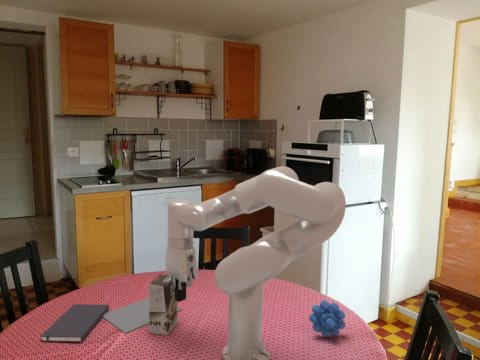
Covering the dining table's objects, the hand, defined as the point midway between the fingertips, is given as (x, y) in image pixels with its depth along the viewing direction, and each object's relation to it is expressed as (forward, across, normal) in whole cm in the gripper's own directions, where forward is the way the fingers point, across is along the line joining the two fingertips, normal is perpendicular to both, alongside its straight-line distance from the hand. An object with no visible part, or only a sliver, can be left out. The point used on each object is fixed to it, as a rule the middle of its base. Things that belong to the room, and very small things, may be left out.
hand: (180, 299), depth 120 cm
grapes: (+12, -32, -32) cm, 47 cm away
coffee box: (+13, +9, 0) cm, 15 cm away
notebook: (+13, +30, +19) cm, 37 cm away
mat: (+12, +22, 0) cm, 25 cm away
